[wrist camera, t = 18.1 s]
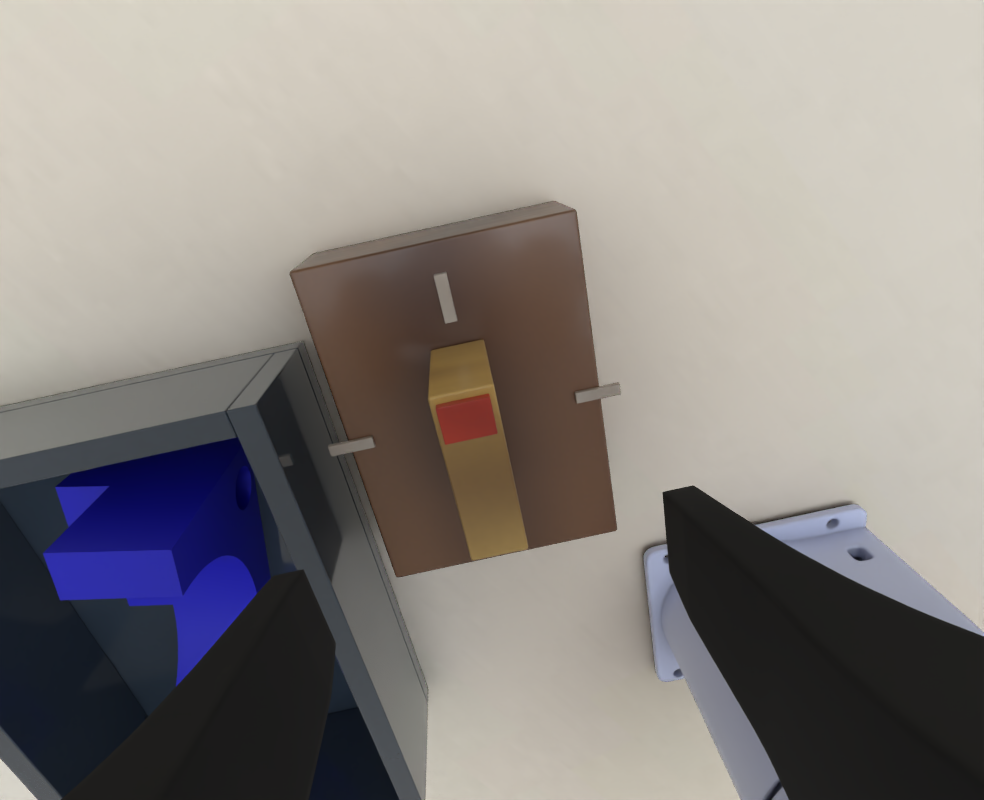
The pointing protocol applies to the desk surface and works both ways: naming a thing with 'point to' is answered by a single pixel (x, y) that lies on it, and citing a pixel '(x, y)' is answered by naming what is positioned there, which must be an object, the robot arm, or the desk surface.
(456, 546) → the block
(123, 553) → the cable clip
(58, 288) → the desk surface
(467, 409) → the yellow box red patch
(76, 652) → the grey open box
